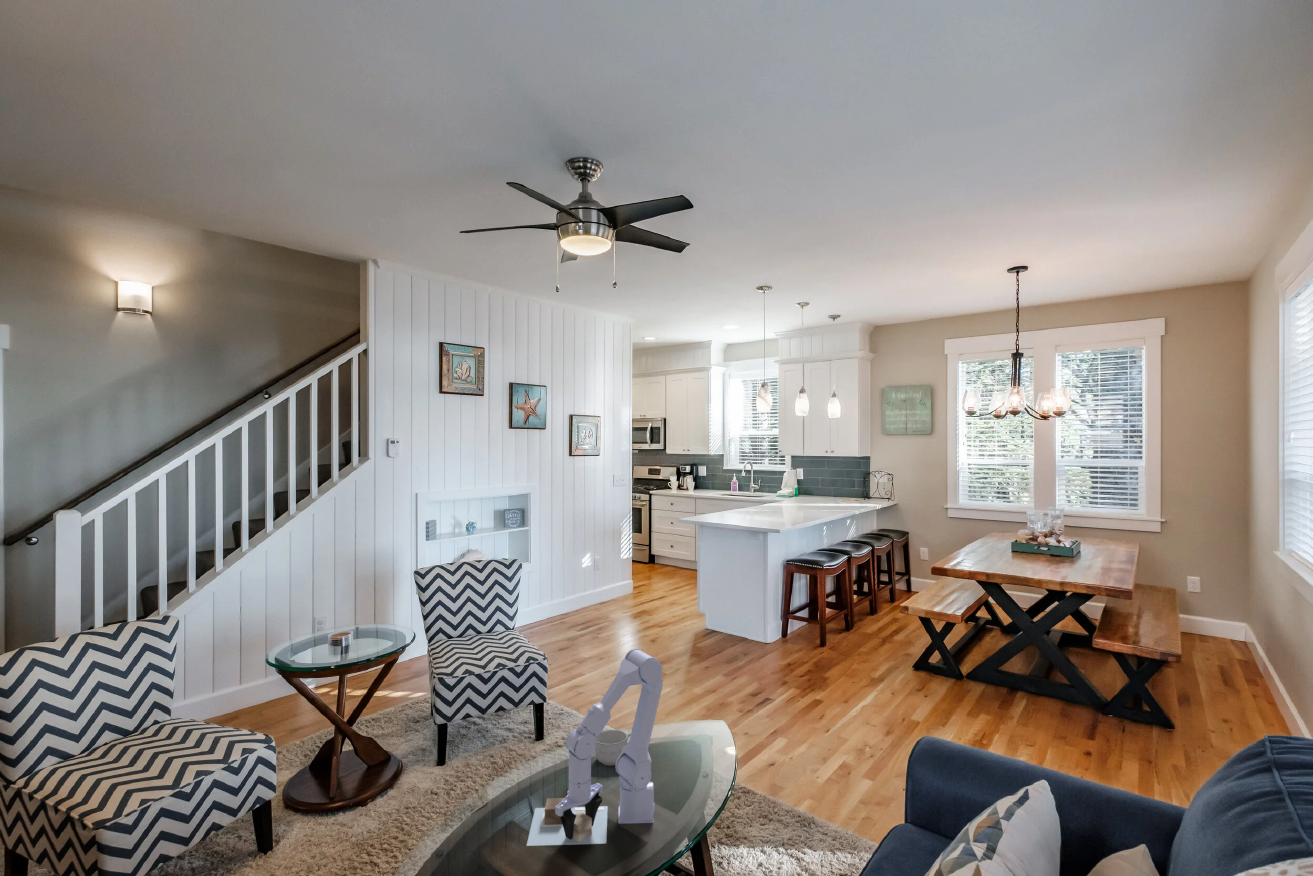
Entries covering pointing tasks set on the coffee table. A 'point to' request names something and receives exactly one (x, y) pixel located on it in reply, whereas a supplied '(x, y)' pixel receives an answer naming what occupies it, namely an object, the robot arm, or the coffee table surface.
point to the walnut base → (552, 811)
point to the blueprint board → (555, 832)
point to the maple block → (582, 826)
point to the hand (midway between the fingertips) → (579, 831)
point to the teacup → (610, 746)
